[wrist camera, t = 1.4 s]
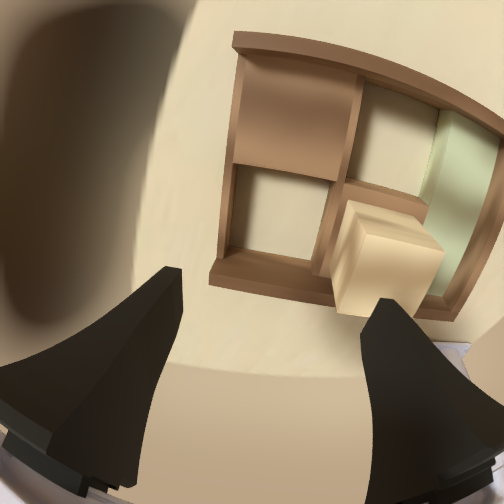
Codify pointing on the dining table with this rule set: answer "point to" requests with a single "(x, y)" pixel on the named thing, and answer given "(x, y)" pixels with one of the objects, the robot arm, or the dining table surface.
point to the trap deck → (337, 160)
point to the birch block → (381, 260)
